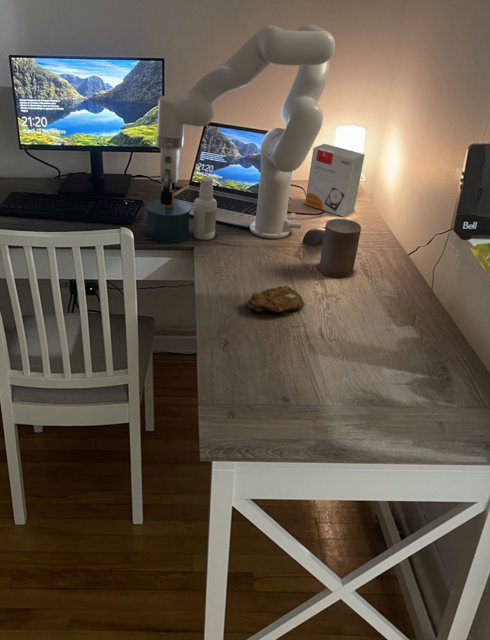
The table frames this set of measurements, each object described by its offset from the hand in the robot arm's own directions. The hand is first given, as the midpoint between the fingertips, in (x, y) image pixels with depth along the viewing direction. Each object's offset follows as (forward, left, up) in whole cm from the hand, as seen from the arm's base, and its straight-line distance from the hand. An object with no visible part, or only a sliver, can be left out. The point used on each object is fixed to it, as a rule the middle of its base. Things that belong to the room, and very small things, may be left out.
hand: (167, 198), depth 203 cm
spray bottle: (-11, -1, -12) cm, 16 cm away
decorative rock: (-32, +41, -12) cm, 53 cm away
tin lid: (0, 0, -3) cm, 3 cm away
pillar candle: (-50, +17, -12) cm, 54 cm away
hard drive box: (-53, -31, -12) cm, 62 cm away
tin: (0, 0, -12) cm, 12 cm away
